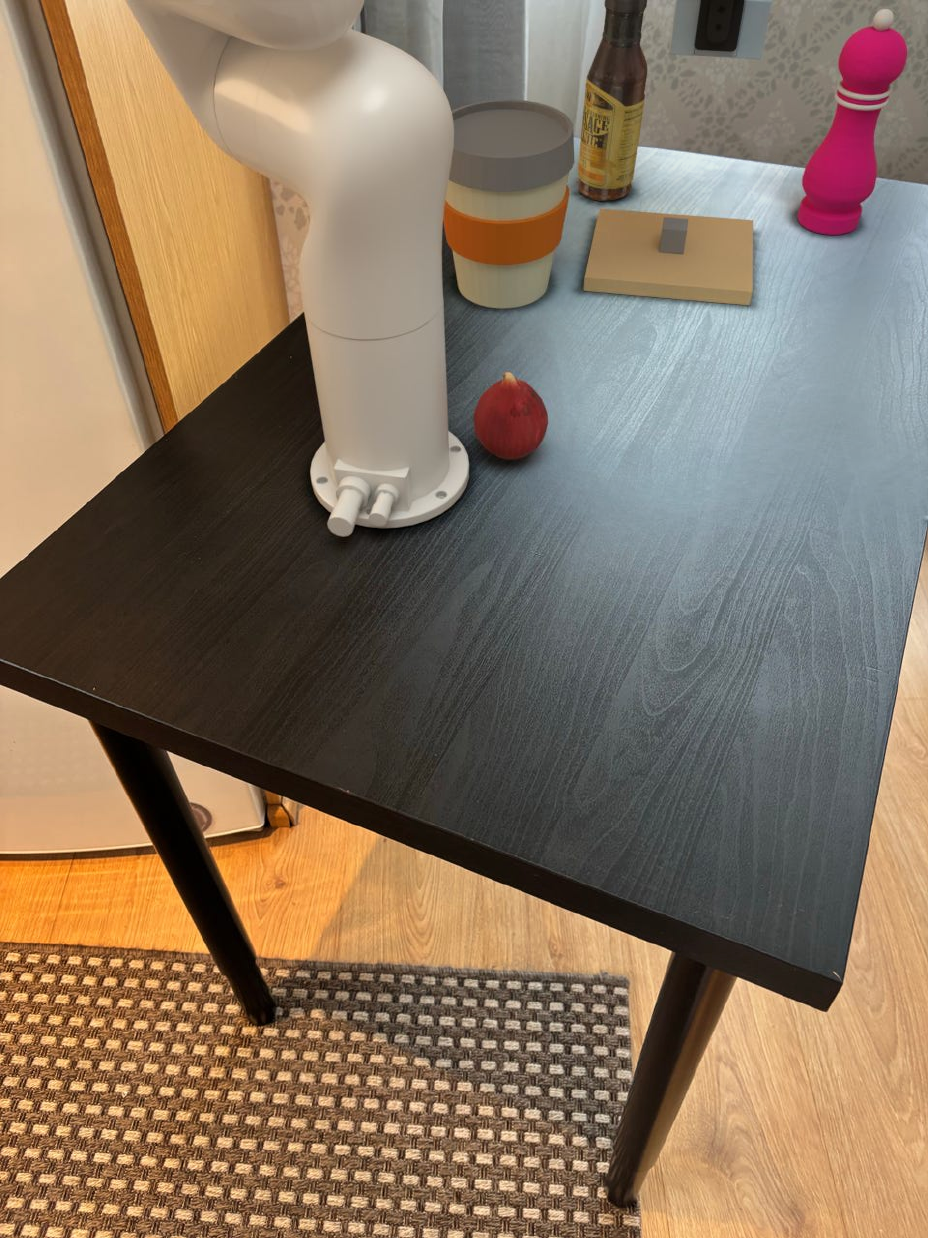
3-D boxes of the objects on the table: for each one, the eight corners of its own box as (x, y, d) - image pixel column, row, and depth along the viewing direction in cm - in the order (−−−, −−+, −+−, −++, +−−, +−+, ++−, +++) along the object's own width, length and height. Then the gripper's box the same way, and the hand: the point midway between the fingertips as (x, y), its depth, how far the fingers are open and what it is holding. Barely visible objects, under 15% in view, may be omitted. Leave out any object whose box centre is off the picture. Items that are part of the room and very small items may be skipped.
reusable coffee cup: (589, 298, 94) (603, 140, 83) (473, 331, 91) (471, 171, 79) (529, 240, 101) (534, 88, 90) (419, 269, 98) (410, 114, 87)
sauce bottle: (567, 183, 110) (580, -18, 95) (616, 173, 111) (637, -27, 96) (592, 209, 106) (610, 3, 91) (643, 199, 107) (669, -6, 92)
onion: (552, 440, 80) (557, 357, 74) (536, 485, 76) (540, 402, 70) (484, 429, 81) (484, 347, 75) (465, 473, 78) (464, 390, 72)
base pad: (749, 305, 93) (758, 266, 90) (583, 290, 95) (586, 252, 92) (750, 233, 102) (758, 196, 99) (598, 221, 104) (601, 184, 101)
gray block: (760, 59, 75) (772, 0, 72) (669, 54, 76) (676, -4, 73) (762, 26, 79) (772, -31, 76) (675, 21, 80) (682, -35, 77)
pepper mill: (856, 205, 105) (919, -4, 90) (867, 239, 100) (936, 23, 85) (788, 203, 106) (839, -5, 90) (796, 236, 101) (852, 22, 86)
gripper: (712, -292, 69) (677, -9, 83) (698, -246, 59) (660, 71, 72) (820, -292, 68) (766, -6, 82) (827, -245, 57) (763, 76, 71)
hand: (717, 28), depth 77 cm, fingers closed on gray block, 7 cm apart
